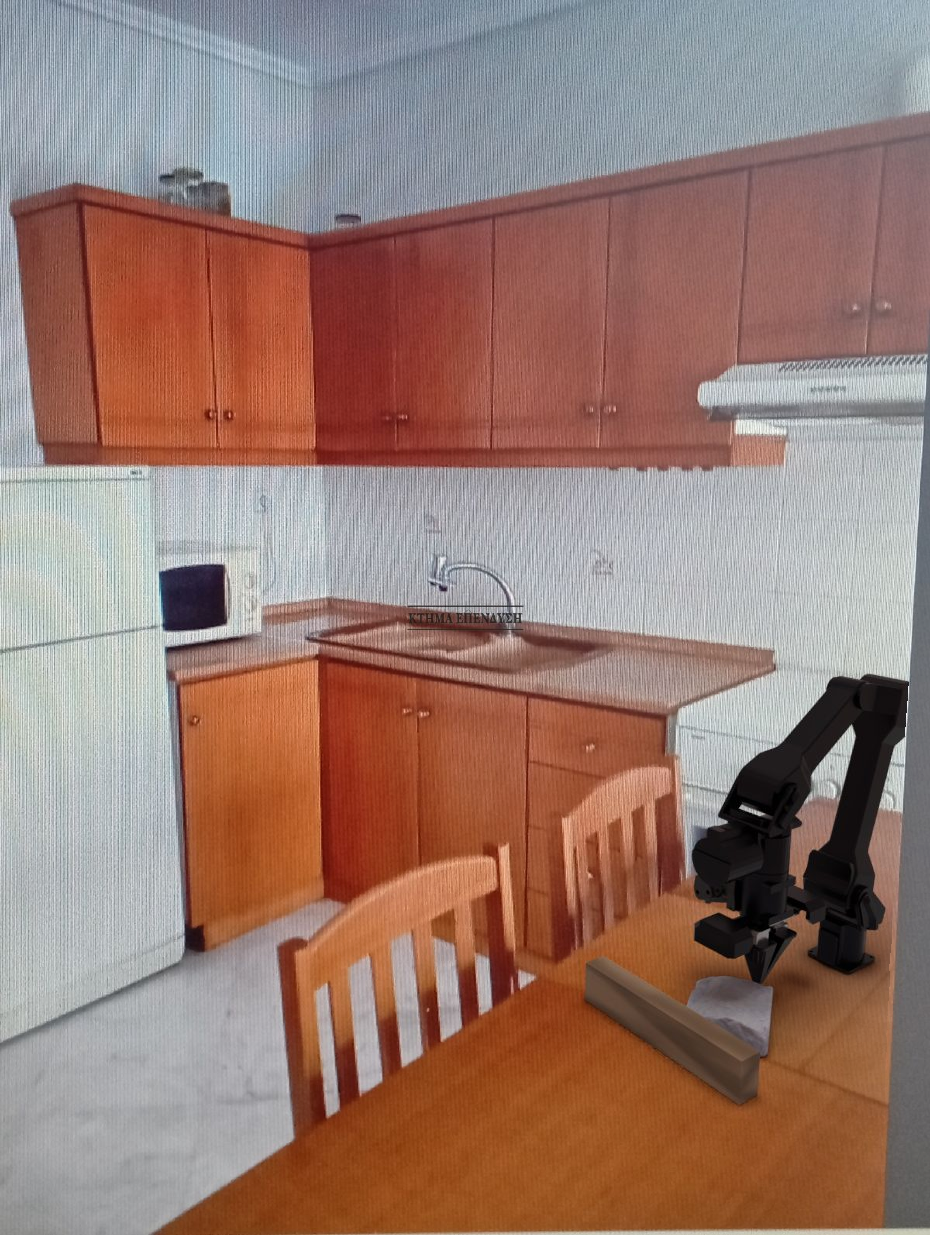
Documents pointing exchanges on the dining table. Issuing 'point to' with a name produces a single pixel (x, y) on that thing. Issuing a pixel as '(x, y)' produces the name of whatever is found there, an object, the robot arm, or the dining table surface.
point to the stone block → (736, 1008)
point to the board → (674, 1029)
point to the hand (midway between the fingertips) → (757, 982)
